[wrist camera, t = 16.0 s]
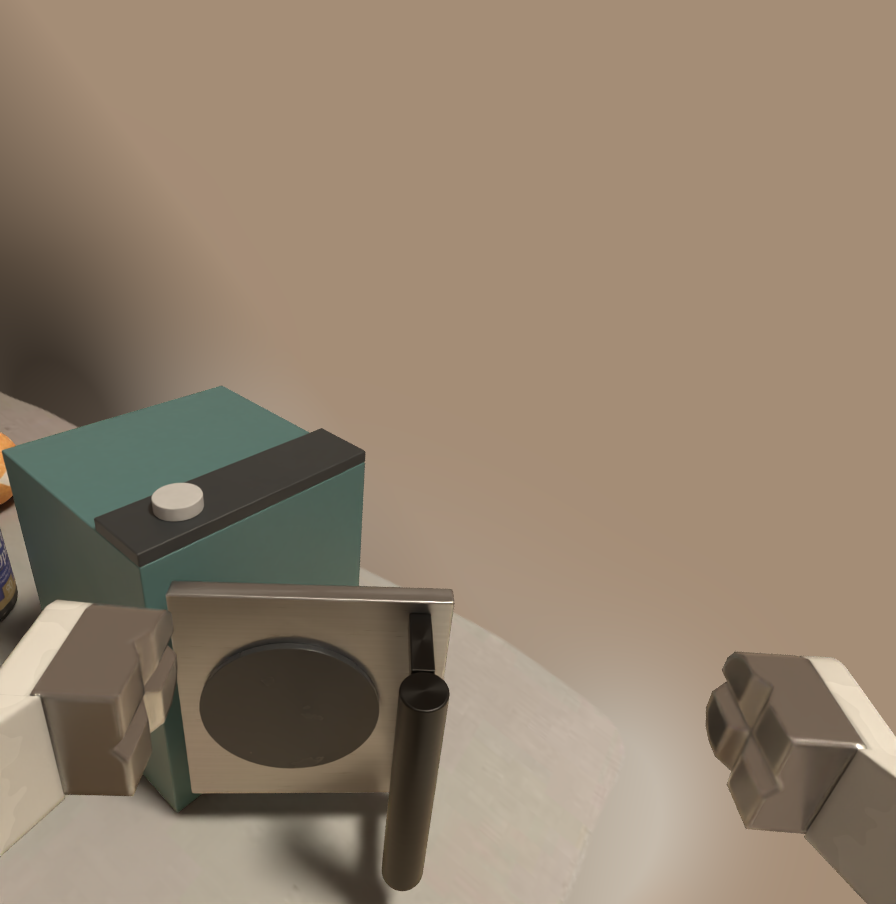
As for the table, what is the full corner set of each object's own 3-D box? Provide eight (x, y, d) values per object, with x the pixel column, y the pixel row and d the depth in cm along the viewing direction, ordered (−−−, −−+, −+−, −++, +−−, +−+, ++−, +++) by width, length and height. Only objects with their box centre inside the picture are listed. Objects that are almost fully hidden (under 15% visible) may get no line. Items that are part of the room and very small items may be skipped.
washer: (354, 675, 38) (366, 439, 30) (177, 813, 30) (135, 540, 22) (235, 583, 43) (220, 364, 36) (59, 679, 35) (-6, 424, 28)
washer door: (433, 898, 26) (466, 700, 20) (160, 904, 24) (119, 697, 19) (426, 776, 30) (453, 588, 25) (196, 777, 29) (171, 579, 23)
